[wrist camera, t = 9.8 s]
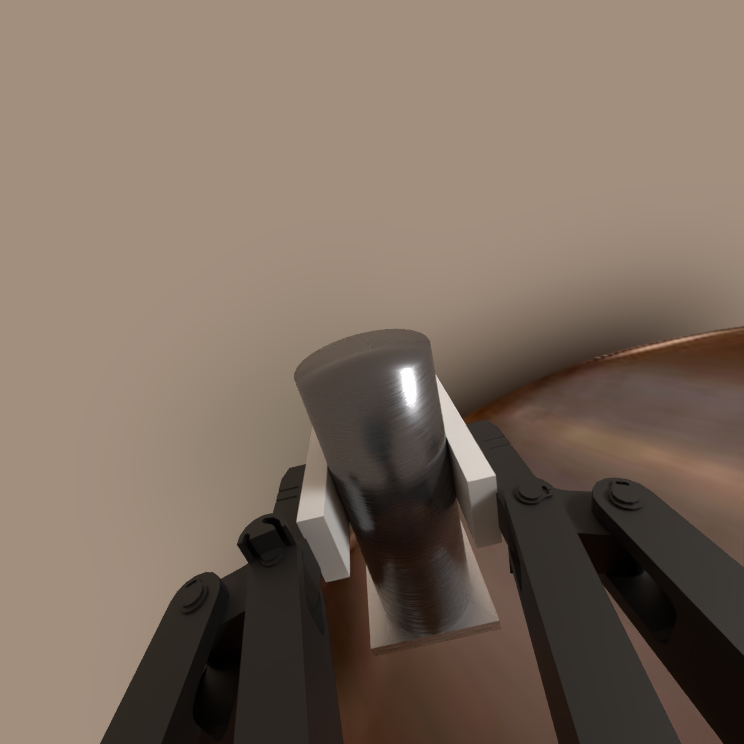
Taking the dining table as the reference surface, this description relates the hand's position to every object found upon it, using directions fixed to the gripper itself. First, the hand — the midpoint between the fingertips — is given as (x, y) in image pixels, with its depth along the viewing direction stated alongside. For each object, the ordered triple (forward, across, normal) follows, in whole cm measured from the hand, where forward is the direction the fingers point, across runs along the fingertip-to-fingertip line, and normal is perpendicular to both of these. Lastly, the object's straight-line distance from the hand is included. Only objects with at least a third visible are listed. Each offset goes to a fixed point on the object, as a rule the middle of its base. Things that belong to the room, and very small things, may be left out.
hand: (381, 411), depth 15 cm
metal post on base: (-1, 0, -7) cm, 7 cm away
